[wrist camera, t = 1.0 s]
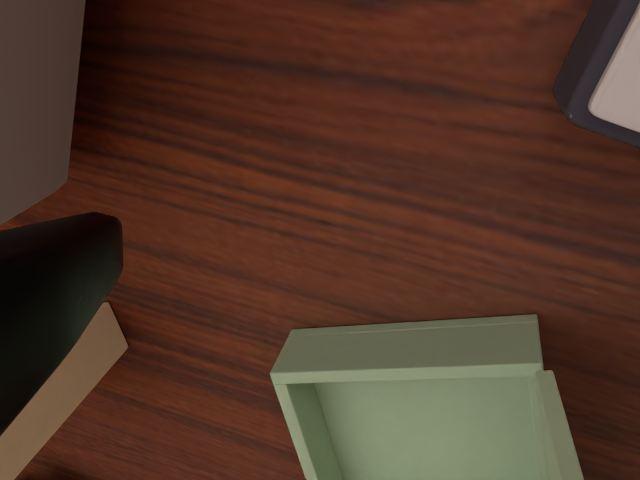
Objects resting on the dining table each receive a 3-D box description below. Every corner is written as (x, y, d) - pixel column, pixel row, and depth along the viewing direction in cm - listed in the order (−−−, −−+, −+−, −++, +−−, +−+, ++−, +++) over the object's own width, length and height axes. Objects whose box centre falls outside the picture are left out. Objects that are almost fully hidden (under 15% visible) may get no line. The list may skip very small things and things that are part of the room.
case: (345, 501, 32) (331, 555, 29) (291, 328, 27) (268, 373, 25) (559, 510, 28) (566, 572, 26) (537, 313, 24) (543, 363, 21)
